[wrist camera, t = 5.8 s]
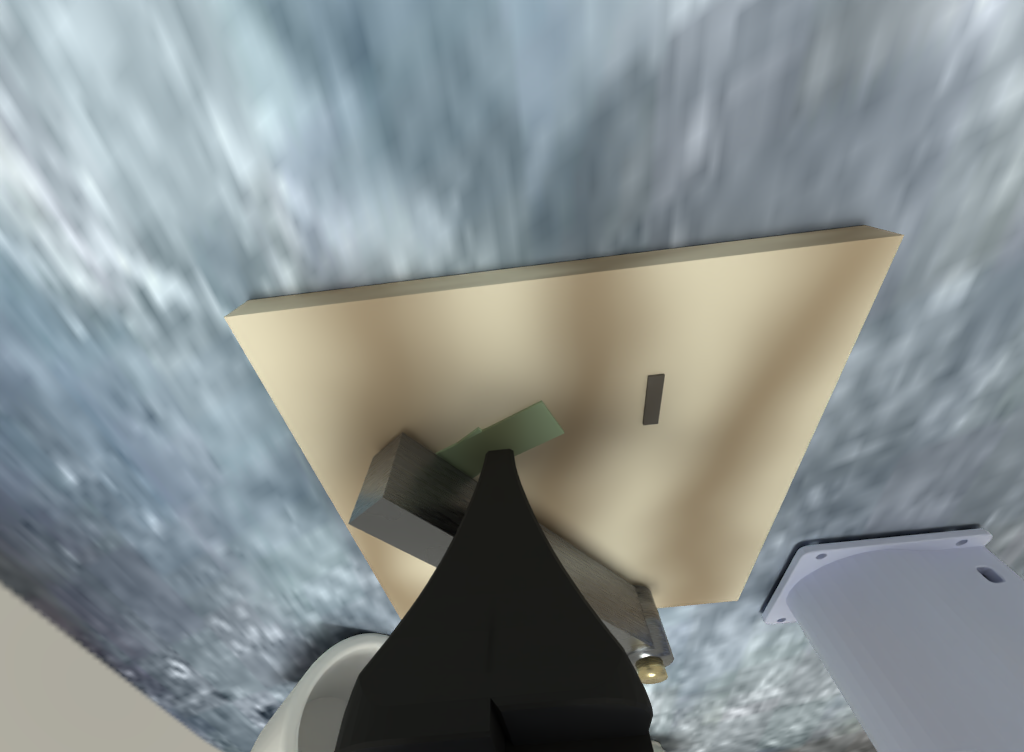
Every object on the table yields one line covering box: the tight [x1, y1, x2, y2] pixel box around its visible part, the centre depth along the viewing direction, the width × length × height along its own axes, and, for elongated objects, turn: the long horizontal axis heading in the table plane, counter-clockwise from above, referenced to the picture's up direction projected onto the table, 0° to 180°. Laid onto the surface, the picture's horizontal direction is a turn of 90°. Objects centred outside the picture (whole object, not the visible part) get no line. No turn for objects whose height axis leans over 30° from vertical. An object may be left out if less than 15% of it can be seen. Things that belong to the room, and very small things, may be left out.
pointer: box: [348, 432, 674, 684], centre depth 15 cm, size 2×16×3 cm, turn 43°
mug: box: [251, 633, 389, 752], centre depth 23 cm, size 12×10×8 cm
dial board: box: [224, 225, 904, 620], centre depth 16 cm, size 18×19×1 cm
